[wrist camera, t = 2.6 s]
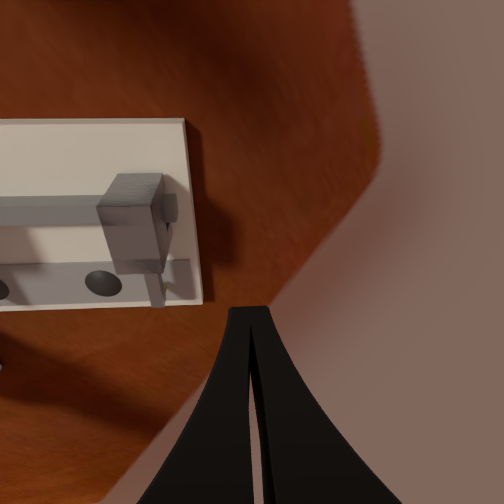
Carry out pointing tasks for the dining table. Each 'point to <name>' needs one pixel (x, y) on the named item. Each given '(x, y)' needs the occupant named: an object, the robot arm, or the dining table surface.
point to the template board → (87, 211)
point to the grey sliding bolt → (137, 229)
